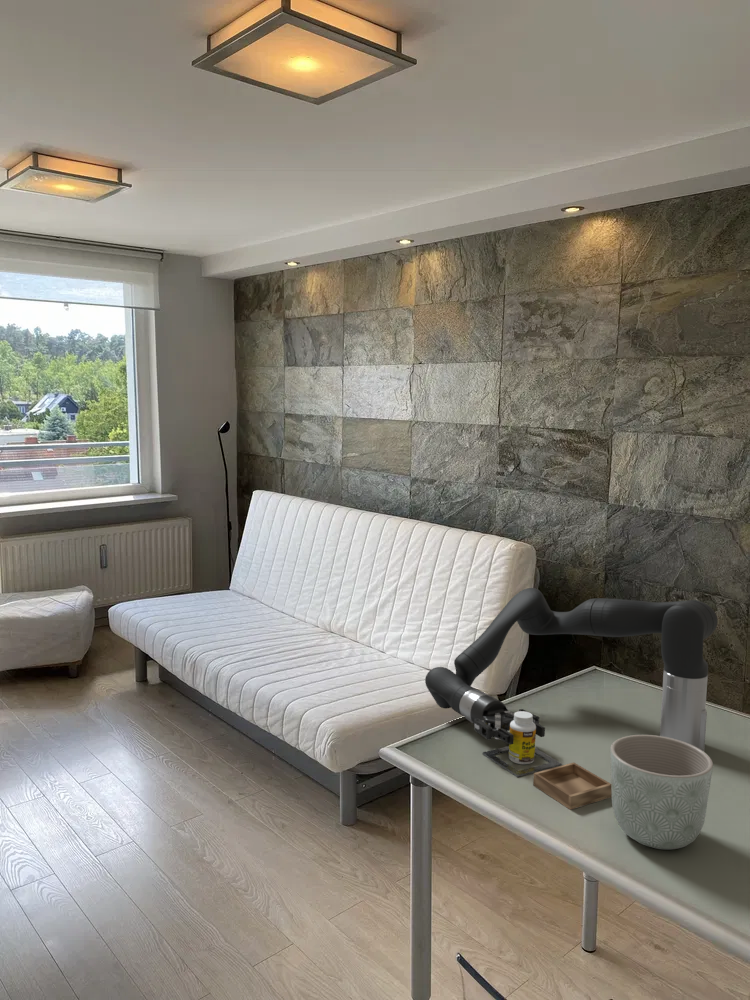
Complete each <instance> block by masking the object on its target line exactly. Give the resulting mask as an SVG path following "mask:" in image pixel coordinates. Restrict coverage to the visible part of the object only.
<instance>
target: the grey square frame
mask: <svg viewBox="0 0 750 1000" xmlns="http://www.w3.org/2000/svg"><path fill="white" fill-rule="evenodd" d="M504 753H509V745H508V746H504V747H500V748H495V749H490V750H487V751H483V752H482V755H483V756H484V757H486V758H488V759H489V760H490V761H492V762H493V763H495V764H497V765H498V766H499V767H501V768H502V769H504V770H506V771H507V772H508V773H511V774H512V775H513V776H515V777H516V778H519V777H520V778H521V777H524V776H527V775H530V774H534V773H536V772H540V771H544V770H547V769H551V768H555V767H558V766H562V765H563V764H562V763H561V762H560V761H558V760H557V759H555V758H553V757H551V756H550V755H548V754H546V753H545V752H544V751H541V750H539V748H536V747H535V755H536V756H538V757H539V758H541V759H543V760H544V761H546V763H543V764H540V765H537V766H532V767H531V766H530V767H529V768H524V769H519V770H518V769H517V768H514V767H513V766H512V765H510V764H508V763H507V762H505V761H504V760H502V759H501V758H499V756H496V755H499V754H504Z"/></svg>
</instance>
